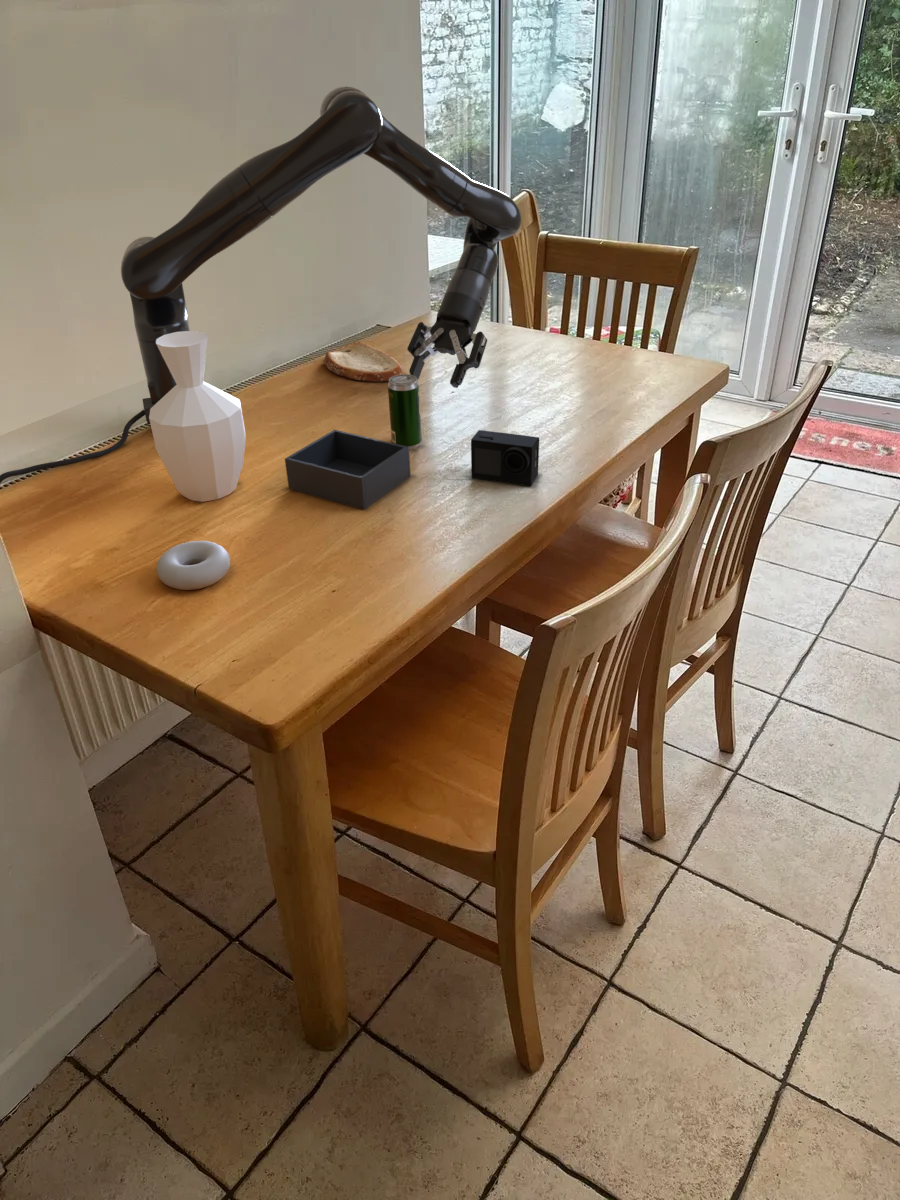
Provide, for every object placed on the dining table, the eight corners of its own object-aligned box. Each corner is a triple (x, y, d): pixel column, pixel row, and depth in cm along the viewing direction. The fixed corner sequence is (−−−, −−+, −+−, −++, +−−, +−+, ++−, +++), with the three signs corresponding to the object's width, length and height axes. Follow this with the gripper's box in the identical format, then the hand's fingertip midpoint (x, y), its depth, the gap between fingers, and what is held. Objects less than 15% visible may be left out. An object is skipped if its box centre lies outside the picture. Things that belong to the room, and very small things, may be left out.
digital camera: (468, 481, 147) (467, 442, 143) (478, 467, 151) (478, 429, 147) (529, 490, 144) (530, 450, 140) (538, 475, 148) (539, 436, 144)
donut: (236, 555, 129) (165, 558, 129) (232, 534, 127) (161, 537, 127) (227, 593, 121) (152, 596, 120) (223, 571, 119) (147, 575, 118)
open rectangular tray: (364, 509, 139) (361, 478, 136) (288, 488, 146) (284, 458, 143) (410, 476, 149) (408, 446, 146) (337, 458, 155) (334, 429, 152)
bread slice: (403, 381, 186) (402, 364, 184) (317, 383, 186) (315, 366, 184) (407, 353, 201) (406, 336, 198) (328, 355, 201) (326, 338, 199)
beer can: (401, 453, 156) (397, 387, 150) (386, 443, 160) (381, 378, 153) (427, 445, 159) (424, 380, 152) (411, 435, 163) (408, 371, 156)
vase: (178, 518, 139) (143, 361, 125) (157, 482, 149) (123, 334, 135) (266, 497, 144) (242, 343, 130) (240, 464, 154) (216, 319, 140)
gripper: (423, 285, 163) (391, 366, 161) (491, 294, 157) (459, 378, 155) (439, 307, 170) (409, 385, 168) (505, 317, 163) (475, 397, 162)
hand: (433, 381), depth 161 cm, fingers open, 8 cm apart
